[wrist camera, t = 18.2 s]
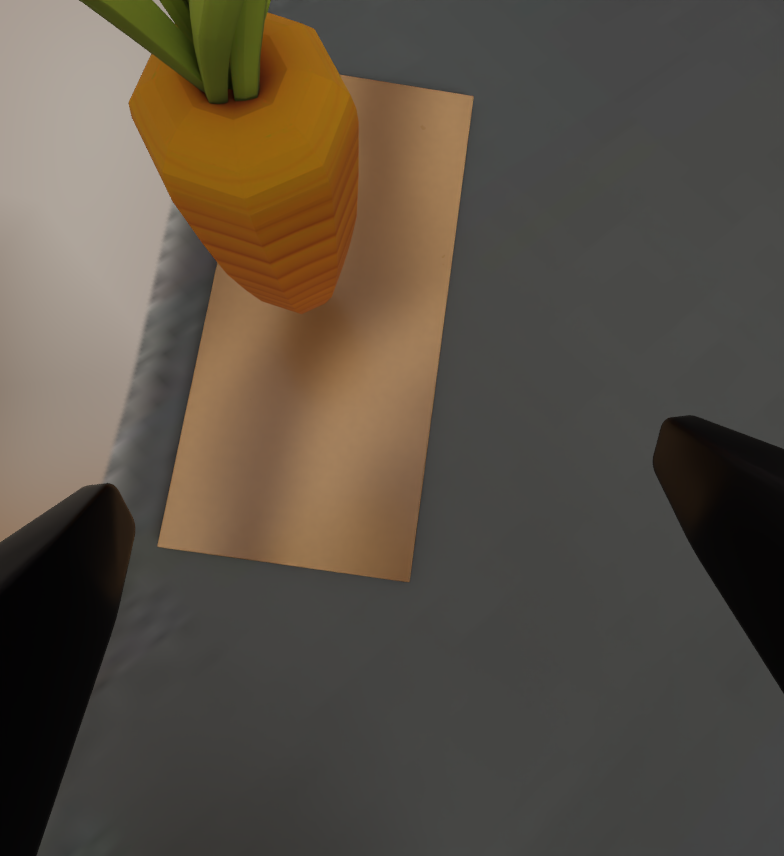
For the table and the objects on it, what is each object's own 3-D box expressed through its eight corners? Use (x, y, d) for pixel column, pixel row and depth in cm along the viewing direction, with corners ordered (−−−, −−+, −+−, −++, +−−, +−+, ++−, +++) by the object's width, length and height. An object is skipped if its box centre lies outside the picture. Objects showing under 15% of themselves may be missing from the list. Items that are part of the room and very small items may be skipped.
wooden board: (161, 546, 20) (156, 546, 19) (261, 68, 23) (259, 61, 23) (408, 581, 20) (409, 582, 19) (472, 102, 23) (473, 95, 23)
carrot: (249, 361, 21) (-68, -7, 6) (245, 250, 21) (-46, -332, 6) (368, 353, 21) (361, -18, 6) (360, 244, 22) (336, -330, 7)
